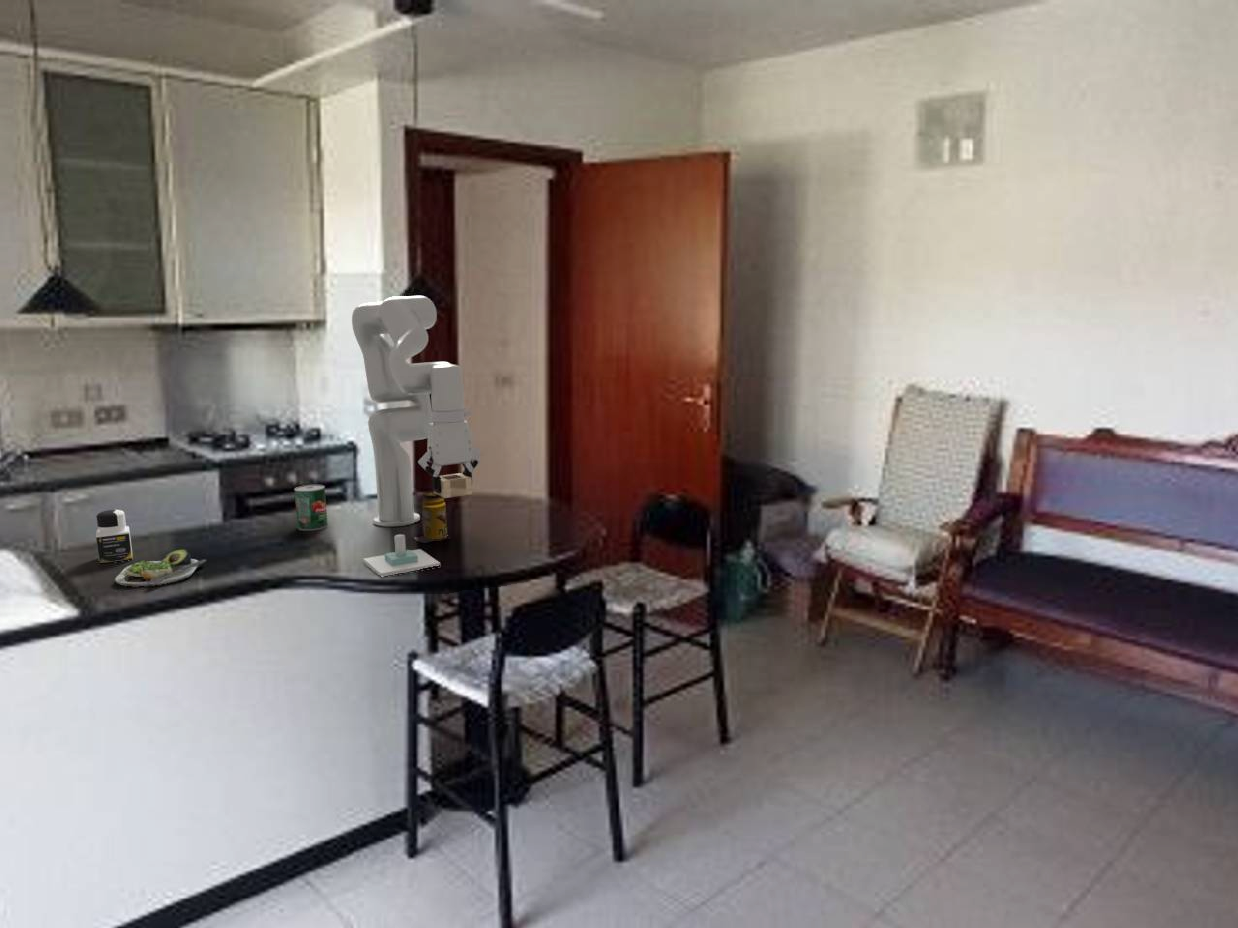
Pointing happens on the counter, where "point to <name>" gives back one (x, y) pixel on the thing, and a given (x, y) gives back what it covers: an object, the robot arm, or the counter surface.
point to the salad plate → (161, 570)
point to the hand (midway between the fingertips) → (452, 489)
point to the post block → (400, 560)
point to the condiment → (434, 516)
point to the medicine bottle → (113, 536)
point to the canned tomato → (311, 507)
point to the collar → (455, 485)
